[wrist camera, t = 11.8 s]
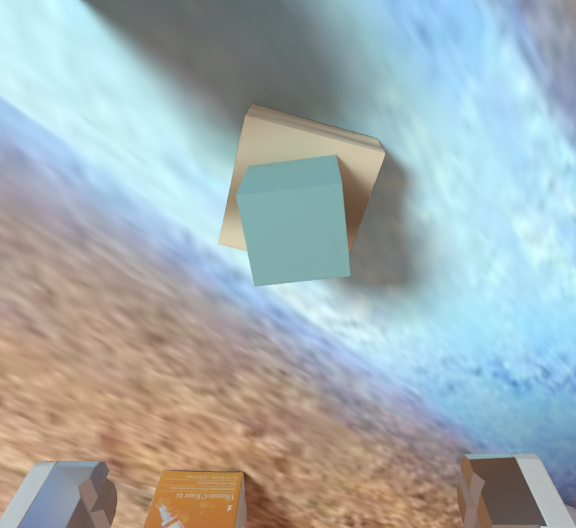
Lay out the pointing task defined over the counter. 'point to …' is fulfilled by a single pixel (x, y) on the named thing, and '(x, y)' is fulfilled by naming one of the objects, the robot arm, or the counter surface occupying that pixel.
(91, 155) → the counter surface
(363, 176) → the maple block
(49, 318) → the counter surface
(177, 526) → the small box
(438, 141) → the counter surface
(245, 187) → the teal cube
